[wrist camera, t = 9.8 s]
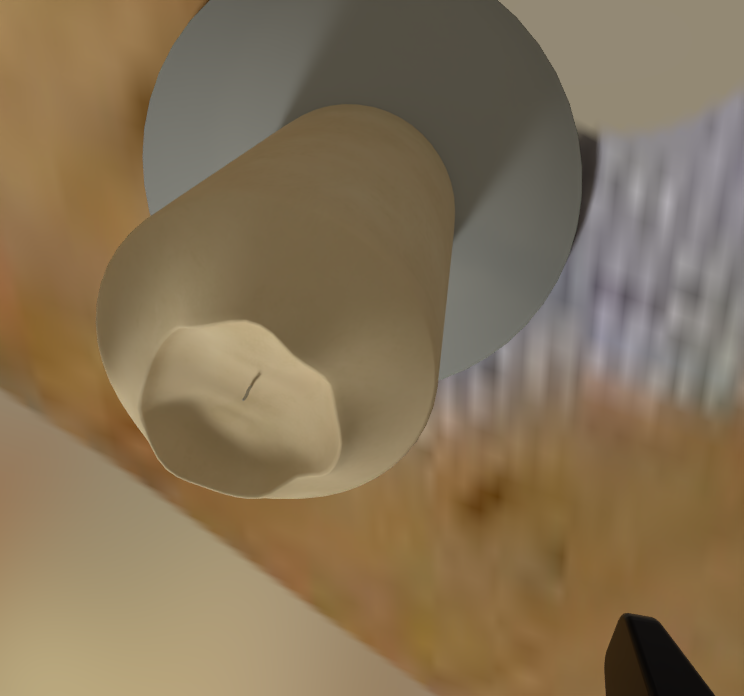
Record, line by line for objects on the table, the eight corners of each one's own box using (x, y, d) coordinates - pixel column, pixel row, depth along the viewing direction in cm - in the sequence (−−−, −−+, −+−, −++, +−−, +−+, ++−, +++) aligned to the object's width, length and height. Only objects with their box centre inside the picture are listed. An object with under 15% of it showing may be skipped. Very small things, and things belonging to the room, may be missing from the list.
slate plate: (628, -39, 14) (635, -40, 14) (534, 398, 20) (536, 413, 20) (129, -65, 16) (112, -68, 15) (177, 353, 22) (167, 365, 21)
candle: (302, 59, 16) (88, 138, 7) (496, 166, 16) (515, 360, 8) (229, 244, 18) (9, 465, 10) (397, 330, 19) (328, 612, 10)
